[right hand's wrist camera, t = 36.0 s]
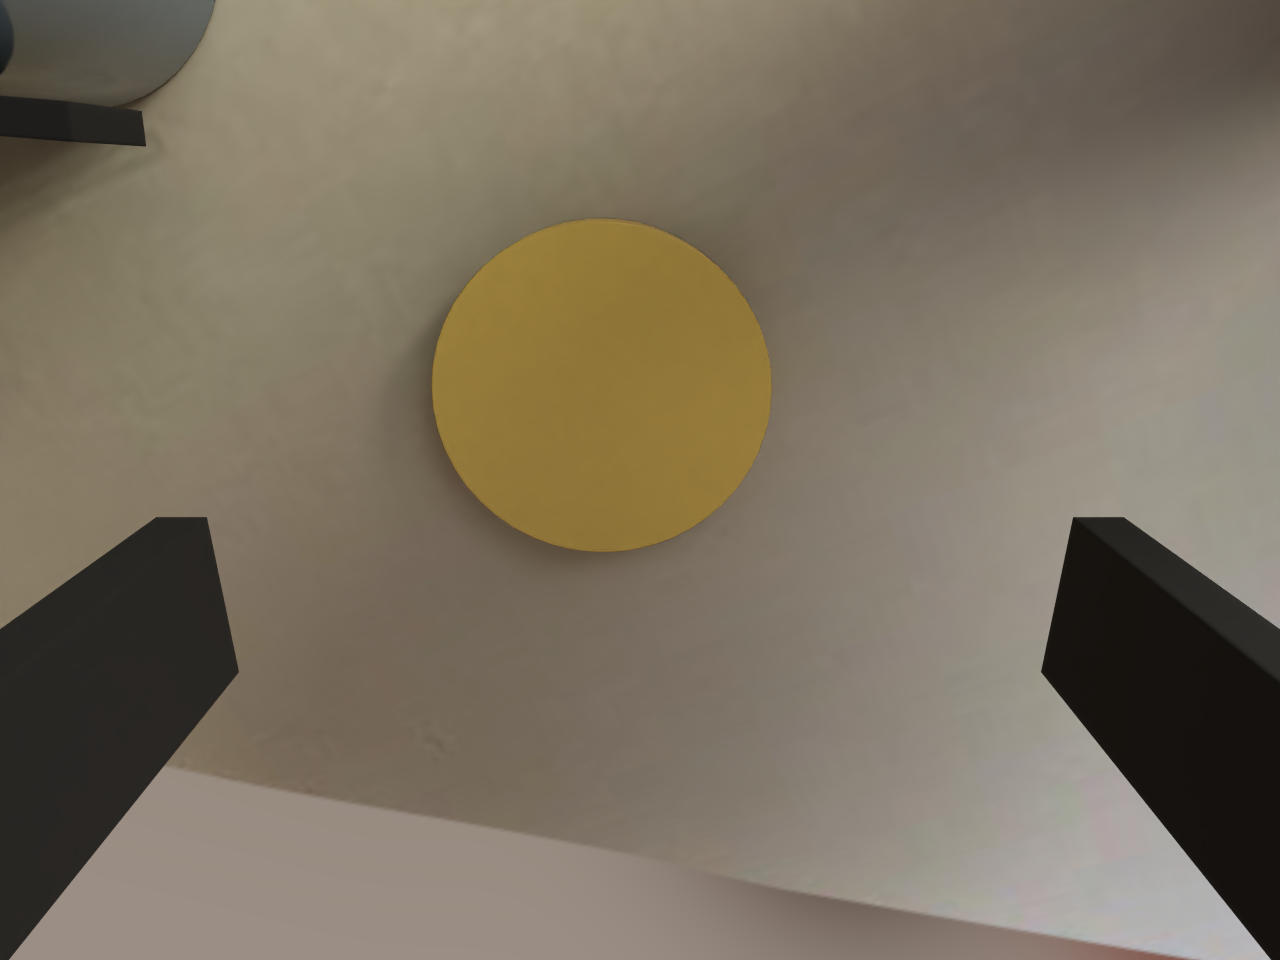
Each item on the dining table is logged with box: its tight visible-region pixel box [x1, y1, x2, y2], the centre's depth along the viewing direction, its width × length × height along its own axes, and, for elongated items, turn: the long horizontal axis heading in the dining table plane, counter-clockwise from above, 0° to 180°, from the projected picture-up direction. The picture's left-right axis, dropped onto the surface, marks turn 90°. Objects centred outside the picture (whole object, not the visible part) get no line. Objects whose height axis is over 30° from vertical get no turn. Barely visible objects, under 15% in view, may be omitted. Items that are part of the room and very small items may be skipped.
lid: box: [431, 218, 772, 552], centre depth 25 cm, size 10×10×2 cm
